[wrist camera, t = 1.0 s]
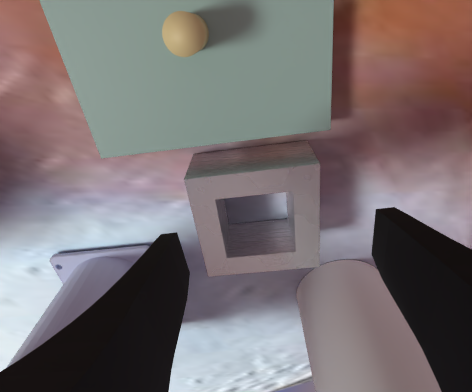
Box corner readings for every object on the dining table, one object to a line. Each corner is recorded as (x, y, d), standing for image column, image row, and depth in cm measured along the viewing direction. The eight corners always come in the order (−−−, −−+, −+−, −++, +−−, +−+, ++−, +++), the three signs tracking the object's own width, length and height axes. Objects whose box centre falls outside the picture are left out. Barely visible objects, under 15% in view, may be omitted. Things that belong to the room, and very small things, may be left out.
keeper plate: (323, 121, 17) (344, 146, 14) (111, 148, 18) (80, 177, 15) (327, -148, 12) (362, -219, 8) (24, -88, 13) (-56, -129, 9)
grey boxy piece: (308, 232, 21) (319, 267, 18) (212, 241, 22) (208, 276, 19) (306, 140, 18) (320, 163, 15) (193, 154, 18) (184, 179, 15)
